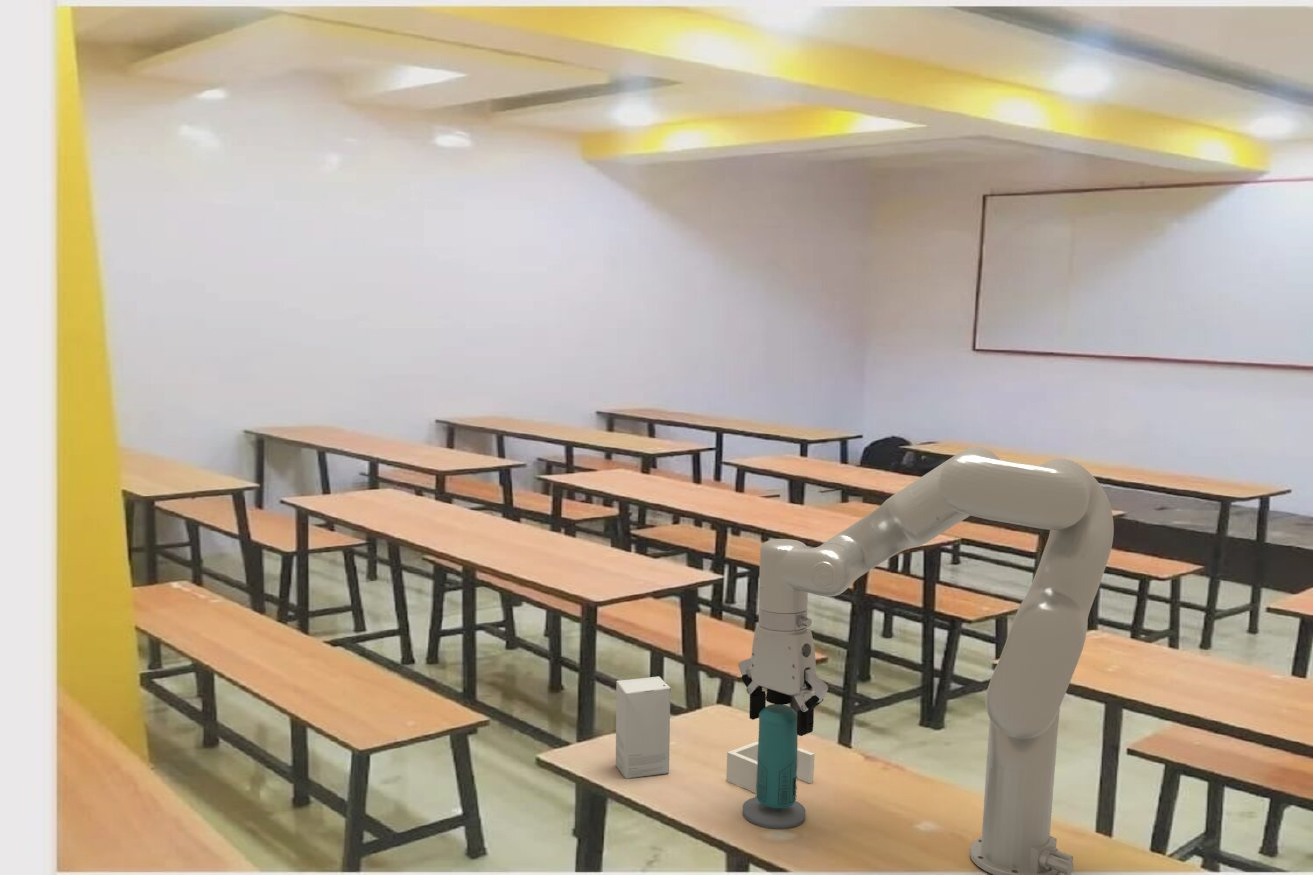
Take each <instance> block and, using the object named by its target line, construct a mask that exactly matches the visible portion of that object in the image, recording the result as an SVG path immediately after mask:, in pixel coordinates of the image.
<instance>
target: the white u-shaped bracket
mask: <svg viewBox="0 0 1313 875" xmlns="http://www.w3.org/2000/svg"><path fill="white" fill-rule="evenodd" d="M726 753H727V755H726V773H725V774H726V777H725V778H726V779H725V780H726V782H729V783H732V784H734V785H736V786H738V787H741V788H743V789H745V790H747V791H749V792H752V793H753V794H757V792H756V791H757V789H756V783H757V774H756V773H757V767H756V766H757V761H758V757H757V756H758V740H757V741H755V742H754V741H753V742H752V743H748V744H746V745H744V746H743V745H742V746H741V747H738V748H735V749H733V750H729V751H727V752H726ZM797 759H798V760H797V761H798V762H797V763H798V764H797V765H798V769H797V775H798V776H797V775H796V777H797V778H796V780H799V781H802V780H803V782H805V783H808V784H812V783H814V773H815V772H814V771H815V753H814V752H811V751H808V750H806V749H803V748H801V747H799V746H797Z"/></svg>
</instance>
